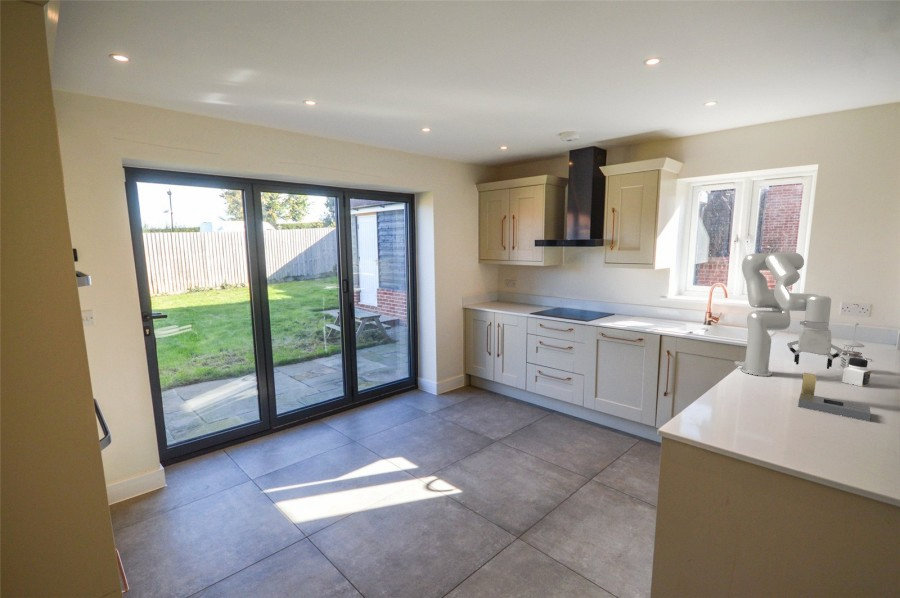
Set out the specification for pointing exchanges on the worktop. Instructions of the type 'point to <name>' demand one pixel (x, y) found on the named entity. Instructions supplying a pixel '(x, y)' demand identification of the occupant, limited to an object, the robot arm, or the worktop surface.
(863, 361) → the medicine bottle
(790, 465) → the worktop surface
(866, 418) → the grey socket block
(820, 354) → the adjustable wrench
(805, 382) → the brass peg
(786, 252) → the robot arm
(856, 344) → the french press
